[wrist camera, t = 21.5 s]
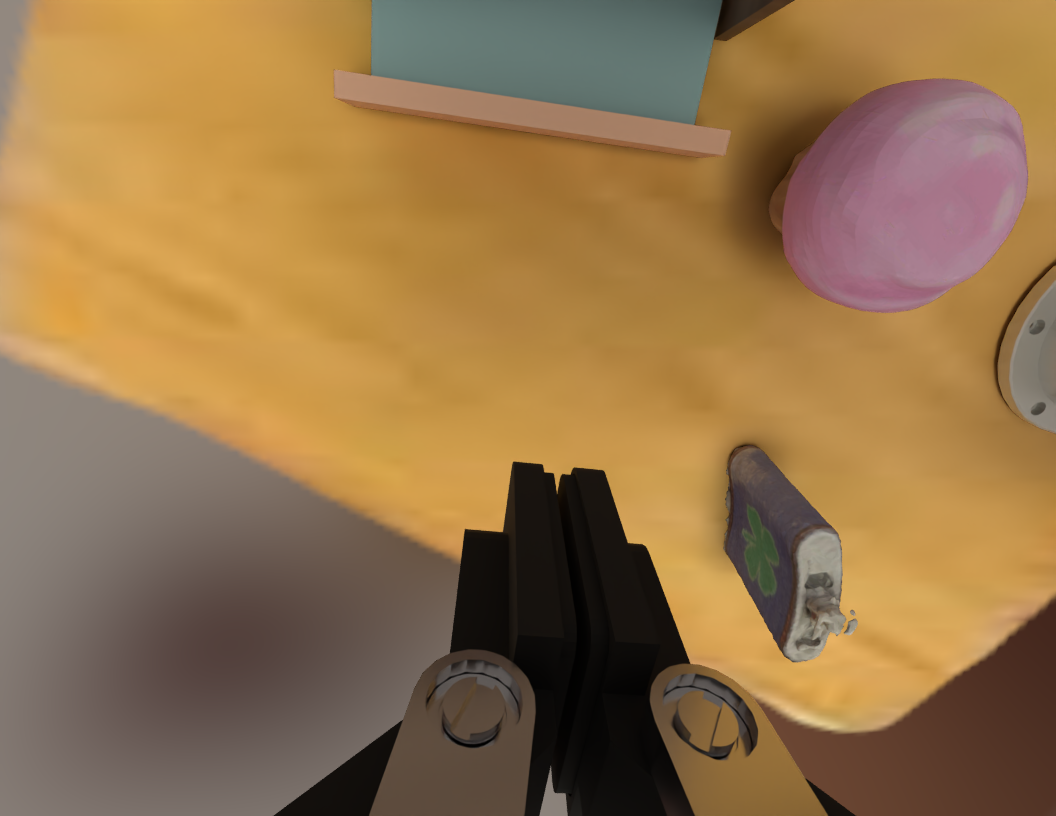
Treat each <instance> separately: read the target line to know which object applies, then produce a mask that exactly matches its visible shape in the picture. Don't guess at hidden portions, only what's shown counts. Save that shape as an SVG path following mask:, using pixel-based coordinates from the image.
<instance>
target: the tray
mask: <svg viewBox="0 0 1056 816" xmlns="http://www.w3.org/2000/svg"><path fill="white" fill-rule="evenodd" d="M721 4H722V0H372V37H371V75H365V74H359V73H352V72H346V71H339V70H334V98H336V99H339V100H341V101H343V102H345V103H348V104H350V105H352V106H355V107H362V108H368V109H375V110H382V111H389V112H395V113H402V114H409V115H416V116H422V117H429V118H436V119H443V120H449V121H456V122H463V123H470V124H476V125H483V126H490V127H497V128H503V129H510V130H517V131H524V132H530V133H537V134H544V135H551V136H557V137H564V138H571V139H578V140H584V141H591V142H598V143H605V144H611V145H618V146H625V147H632V148H638V149H645V150H652V151H659V152H665V153H672V154H679V155H686V156H693V157H699V158H704V157H716V156H725V154H726V150H727V146H728V142H729V138H730V134H731V131H730V130H724V129H717V128H710V127H704V126H697V125H694V124H695V120H696V116H697V111H698V107H699V102H700V98H701V93H702V89H703V84H704V80H705V76H706V71H707V67H708V62H709V58H710V53H711V49H712V44H713V40H714V36H715V31H716V27H717V22H718V18H719V13H720V9H721Z"/></svg>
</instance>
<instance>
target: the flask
mask: <svg viewBox="0 0 1056 816" xmlns="http://www.w3.org/2000/svg"><path fill="white" fill-rule="evenodd" d="M749 446H751V445H748V446H744V447H740V448H736V449H735V450H734V453H733V454H732V456H731V458H730V461H729V462H728V468H727V470H726V471H727V475H729V487H728V491H727V497H726V498H725V500H726V506H727V507H726V508H728V510H729V512H730V515H729V518H727V519H726V521H727V524H728V530H727V532H726V533H725V542H724V550H725V552H726V553H727V555H728V556H729V558H730V560H731V561H732V563H733V564H734V566H735V568H736V570H737V572H738V574H739V575H740V577H741V578H742V580H743V583H744V585H745V587H746V589H747V590H748V592H749V595H750V596H751V597H752V599H753V601H754V603H755V604H756V606H757V608H758V610H759V612H760V614H761V616H762V617H763V618H764V622H765V623H766V625H767V627H768V629H769V631H770V632H771V633H772V635H773V639H774V640H775V641H776V643H777V645H778V647H779V649H780V650H781V652H782V653H783V655H784V656H785V657H786V658H788V659H789V660H791V661H792V662H801V661H807V660H811V659H814V658H816V657H818V656H819V655H820V653H821V651H822V650H823V648H824V646H825V644H826V640H827V637H828V635H829V633H830V632H832V633H835V634H836V636H838V635H839V634H840V632H841V630H842V628H843V627H844V626H843V624H844V623H845V621H846V618H845V616H844V615H843V614H842V613H841V612H840V608H839V606H840V596H841V592H842V589H841V585H842V575H843V574H842V548H841V540H840V539H839V535H838V533H837V532H836V531H835V529H834V528H833V527H832V526H831V525H830V524H829V523H827V522H826V521H825V519H824V518H823V517H822V516H821V515H820V514H819V513H818V512H817V510H816V509H815V508H813V507H812V506H811V504H810V503H809V502H808V501H807V500H806V499H805V497H804V496H803V495H802V494H801V493H800V492H799V491H798V490H797V489H796V488H795V487H794V486H793V485H792V484H791V483H790V481H789V480H788V479H787V478H786V477H785V476H784V475H783V473H782V472H781V471H780V470H779V469H778V467H777V466H776V465H775V464H774V463H773V462H772V461H771V460H770V459H769V457H768V456H767V455H766V454H765V453H764V452H763V451H762V450H761V449H760V448H758V447H756V448H755V446H751V447H749ZM850 613H851V614H852V615H853V616H855V612H854V610H851V611H850ZM857 625H858V622H857V620H856V619H853V620H851V621H849V623H848V627H847V630H846V631H845V632H844V634H847V635H850V634H852V633H853V631H854V630H855V628H856V627H857Z"/></svg>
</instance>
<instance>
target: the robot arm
mask: <svg viewBox="0 0 1056 816" xmlns="http://www.w3.org/2000/svg"><path fill="white" fill-rule="evenodd" d="M998 382H999V386H1000V389H1001V392H1002V395H1003V398H1004V399H1005V401H1006V403H1007V404H1008V406H1009V407H1010V409H1011V410H1012V411H1013V412H1014V413H1015V414H1017V415H1018V416H1019V417H1020V418H1021V419H1023V420H1025V421H1027V422H1029V423H1031V424H1033V425H1035V426H1036V427H1038V428H1040V429H1043V430H1046V431H1049V432H1052V433H1055V434H1056V265H1055V266H1054V267H1052V268H1051V269H1050V270H1049V271H1048V272H1047V273H1046V275H1045V276H1044V277H1043V278H1042V279H1041V280H1040V281H1039V282H1038V283H1037V284H1036V285H1035V286H1034V287H1033V288H1032V290H1031V291H1030V292H1029V294H1028V295H1027V296H1026V298H1025V299H1024V300H1023V302H1022V303H1021V304H1020V306H1019V307H1018V309H1017V311H1016V313H1015V314H1014V316H1013V318H1012V320H1011V322H1010V324H1009V325H1008V328H1007V330H1006V333H1005V336H1004V339H1003V342H1002V344H1001V348H1000V354H999V360H998ZM550 766H551V771H552V783H553V789H554V792H555V793H566V801H567V812H568V816H855V815H854V814H853V813H851V812H850V811H849V810H847V809H846V808H845V807H843V806H842V805H841V804H839V803H838V802H837V801H835V800H834V799H833V798H831V797H830V796H829V795H827V794H826V793H824V792H823V791H822V790H821V789H819V788H818V787H817V786H815V785H814V784H813V783H811V782H810V781H808V780H807V779H805V778H804V776H803V775H802V773H801V771H800V770H799V768H798V767H797V765H796V764H795V762H794V760H793V759H792V757H791V755H790V754H789V752H788V751H787V749H786V747H785V746H784V744H783V743H782V741H781V739H780V738H779V736H778V735H777V733H776V731H775V730H774V728H773V726H772V725H771V723H770V722H769V720H768V718H767V717H766V715H765V714H764V712H763V710H762V709H761V708H760V706H759V705H758V704H757V703H756V701H755V700H754V699H753V697H752V696H751V695H750V694H749V693H748V692H747V691H746V690H745V689H744V688H742V687H741V686H740V685H739V684H738V683H737V682H735V681H734V680H733V679H731V678H729V677H727V676H726V675H724V674H722V673H720V672H719V671H717V670H714V669H711V668H708V667H705V666H702V665H695V664H690V662H689V659H688V656H687V653H686V651H685V648H684V645H683V643H682V640H681V637H680V635H679V632H678V629H677V627H676V624H675V621H674V619H673V616H672V613H671V611H670V608H669V605H668V602H667V600H666V597H665V594H664V592H663V589H662V586H661V584H660V581H659V578H658V576H657V573H656V570H655V568H654V565H653V562H652V560H651V557H650V554H649V552H648V550H647V548H646V546H644V545H643V544H633V543H628V542H627V539H626V536H625V533H624V530H623V527H622V524H621V521H620V518H619V515H618V512H617V508H616V505H615V502H614V499H613V496H612V493H611V490H610V487H609V484H608V481H607V478H606V475H605V472H604V471H603V470H595V469H584V468H573V470H572V472H571V475H566V474H562V475H561V478H560V482H559V487H558V493H557V491H556V484H555V478H554V474H553V473H545V472H544V468H543V465H542V464H533V463H523V462H513V465H512V470H511V477H510V485H509V492H508V499H507V507H506V514H505V521H504V529H503V532H493V531H481V530H469V529H465V533H464V541H463V549H462V557H461V566H460V574H459V582H458V590H457V600H456V608H455V615H454V624H453V632H452V640H451V649H450V654H448V655H446V656H444V657H442V658H440V659H439V660H436V661H435V662H434V663H433V664H432V665H431V666H430V667H429V668H427V669H426V670H425V671H424V672H423V674H422V675H421V677H420V679H419V681H418V683H417V684H416V686H415V688H414V691H413V693H412V696H411V699H410V702H409V705H408V708H407V710H406V713H405V716H404V719H403V720H402V721H400V722H399V723H398V724H396V725H395V726H394V727H392V728H391V729H390V730H388V731H387V732H386V733H384V734H383V735H382V736H380V737H379V738H378V739H376V740H375V741H373V742H372V743H371V744H369V745H368V746H367V747H365V748H364V749H363V750H361V751H360V752H359V753H357V754H356V755H355V756H353V757H352V758H351V759H349V760H348V761H346V762H345V763H344V764H342V765H341V766H340V767H339V768H337V769H336V770H334V771H333V772H332V773H330V774H329V775H328V776H326V777H325V778H324V779H322V780H321V781H320V782H318V783H317V784H316V785H314V786H313V787H311V788H310V789H309V790H308V791H306V792H305V793H303V794H302V795H301V796H299V797H298V798H297V799H295V800H294V801H293V802H291V803H290V804H289V805H287V806H286V807H285V808H283V809H282V810H281V811H279V812H278V813H277V814H275V815H274V816H539V815H540V810H541V806H542V801H543V797H544V792H545V788H546V784H547V779H548V775H549V770H550Z"/></svg>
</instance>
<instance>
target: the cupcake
mask: <svg viewBox="0 0 1056 816" xmlns="http://www.w3.org/2000/svg"><path fill="white" fill-rule="evenodd" d="M1027 183H1028V170H1027V160H1026V147H1025V141H1024V135H1023V126H1022V123H1021V119H1020V116H1019V114H1018V113H1017V112H1016V110H1015V109H1014V108H1013V106H1012V105H1010V104H1009V103H1008V102H1007V101H1006V100H1004V99H1003V98H1001V97H1000V96H998V95H997V94H995V93H993V92H992V91H990V90H988V89H986V88H984V87H982V86H980V85H978V84H976V83H973V82H968V81H962V80H954V79H926V80H915V81H907V82H901V83H897V84H893V85H889V86H886V87H883V88H880V89H877V90H874V91H872V92H870V93H868V94H866V95H865V96H863V97H862V98H860V99H859V100H857V101H856V102H854V103H853V104H852V105H850V106H849V107H848V108H846V109H845V110H844V111H842V112H841V113H840V114H839V115H838V116H837V117H836V118H835V119H834V120H833V121H832V122H831V123H830V124H829V125H828V127H827V128H826V129H825V130H824V131H823V132H822V134H821V135H820V136H819V137H818V138H817V139H816V141H815V142H814V143H813V144H811V145H810V146H808V147H806V148H805V149H804V150H802V151H801V152H800V153H798V154H797V155H796V156H795V157H794V160H793V163H792V165H791V167H790V169H789V171H788V173H787V174H786V176H785V178H784V179H783V180H782V181H781V182H780V183H779V185H778V186H777V188H776V189H775V191H774V192H773V194H772V196H771V199H770V203H769V214H770V218H771V221H772V224H773V225H774V227H775V228H776V229H777V230H778V231H779V232H780V233H781V234H782V236H783V245H784V253H785V256H786V259H787V261H788V262H789V264H790V265H791V267H792V269H793V271H794V272H795V274H796V275H797V277H798V278H799V279H800V281H801V282H802V283H803V284H804V285H805V286H806V287H807V288H808V289H810V290H811V291H812V292H814V293H815V294H817V295H819V296H821V297H823V298H825V299H827V300H829V301H832V302H835V303H837V304H840V305H843V306H846V307H850V308H854V309H858V310H862V311H869V312H882V313H892V312H900V311H907V310H911V309H915V308H918V307H921V306H923V305H925V304H928V303H930V302H932V301H934V300H935V299H937V298H939V297H940V296H942V295H943V294H944V293H946V292H947V291H948V290H950V289H951V288H952V287H954V286H955V285H957V284H959V283H961V282H963V281H965V280H967V279H968V278H970V277H971V276H973V275H974V274H976V273H977V272H978V271H979V270H980V269H981V268H982V267H983V266H984V265H985V264H986V263H987V262H988V261H989V260H990V259H991V258H992V256H993V255H994V254H995V253H996V251H997V250H998V249H999V247H1000V246H1001V245H1002V243H1003V242H1004V241H1005V239H1006V238H1007V236H1008V235H1009V233H1010V232H1011V230H1012V228H1013V226H1014V224H1015V222H1016V220H1017V218H1018V214H1019V212H1020V211H1021V208H1022V205H1023V203H1024V200H1025V197H1026V191H1027Z"/></svg>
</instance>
